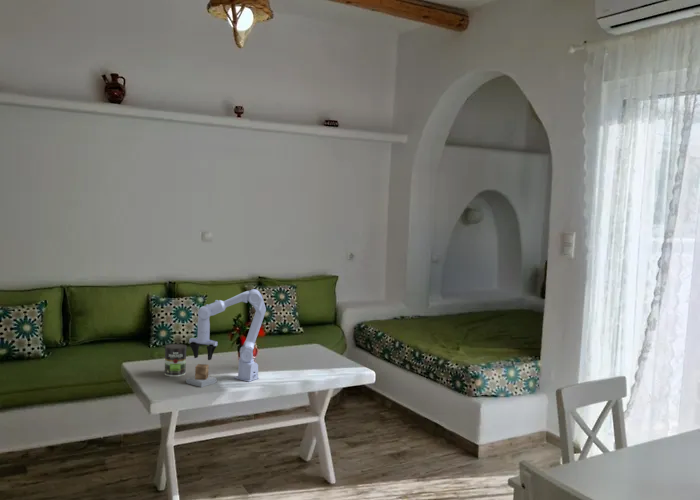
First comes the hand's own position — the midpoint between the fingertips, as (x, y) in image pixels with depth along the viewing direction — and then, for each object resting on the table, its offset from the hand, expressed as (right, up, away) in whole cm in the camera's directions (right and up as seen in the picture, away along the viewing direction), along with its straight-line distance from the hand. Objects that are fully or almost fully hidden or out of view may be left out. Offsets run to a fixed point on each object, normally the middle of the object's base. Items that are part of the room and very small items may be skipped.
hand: (202, 358), depth 297 cm
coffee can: (-15, -9, +6) cm, 19 cm away
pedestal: (+1, -10, -6) cm, 12 cm away
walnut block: (+1, -8, -6) cm, 10 cm away
